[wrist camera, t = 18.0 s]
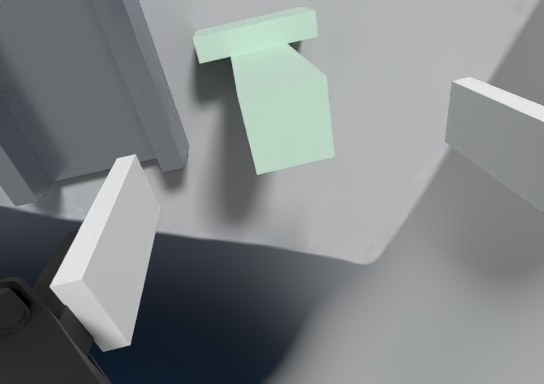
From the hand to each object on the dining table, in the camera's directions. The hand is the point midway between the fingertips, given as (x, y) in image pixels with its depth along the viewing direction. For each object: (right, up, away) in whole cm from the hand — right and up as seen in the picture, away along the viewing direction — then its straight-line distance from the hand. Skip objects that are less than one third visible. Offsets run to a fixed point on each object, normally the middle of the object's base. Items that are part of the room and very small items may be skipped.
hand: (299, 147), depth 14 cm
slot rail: (-19, +9, +15) cm, 25 cm away
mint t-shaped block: (-2, +10, +17) cm, 20 cm away
